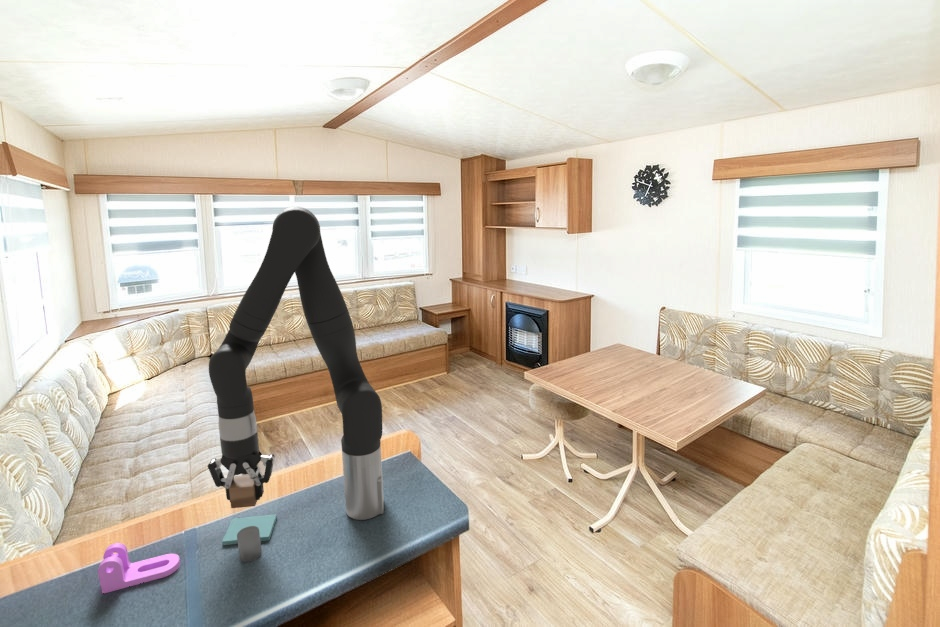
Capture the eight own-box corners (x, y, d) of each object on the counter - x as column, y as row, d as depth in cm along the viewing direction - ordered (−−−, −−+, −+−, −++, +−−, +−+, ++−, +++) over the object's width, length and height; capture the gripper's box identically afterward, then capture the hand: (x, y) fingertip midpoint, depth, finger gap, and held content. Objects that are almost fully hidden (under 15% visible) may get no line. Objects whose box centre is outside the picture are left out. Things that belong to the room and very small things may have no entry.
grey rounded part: (263, 546, 108) (261, 525, 106) (258, 560, 104) (256, 538, 102) (242, 548, 107) (240, 527, 106) (237, 563, 103) (234, 541, 101)
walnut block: (254, 506, 109) (252, 486, 107) (231, 508, 108) (228, 488, 107) (260, 493, 113) (258, 474, 112) (237, 495, 112) (235, 476, 111)
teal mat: (276, 517, 117) (276, 514, 117) (269, 540, 110) (269, 536, 109) (233, 522, 116) (232, 518, 115) (222, 545, 108) (221, 541, 108)
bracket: (102, 594, 95) (96, 564, 93) (109, 574, 100) (103, 546, 98) (178, 573, 100) (173, 545, 98) (181, 555, 105) (177, 528, 103)
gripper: (197, 442, 102) (206, 512, 106) (268, 436, 104) (275, 506, 108) (209, 425, 109) (217, 492, 113) (276, 421, 111) (282, 486, 115)
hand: (246, 498), depth 110 cm, fingers closed on walnut block, 5 cm apart
